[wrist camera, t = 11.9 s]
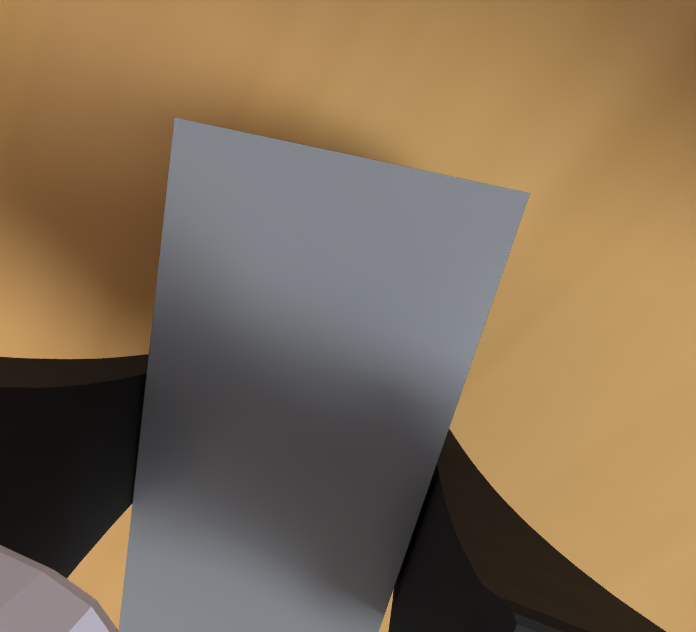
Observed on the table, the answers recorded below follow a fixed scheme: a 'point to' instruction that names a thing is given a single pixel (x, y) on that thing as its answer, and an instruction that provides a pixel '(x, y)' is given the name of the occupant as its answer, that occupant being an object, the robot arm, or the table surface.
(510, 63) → the table surface
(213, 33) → the table surface
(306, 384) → the tall grey brick
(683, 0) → the table surface
